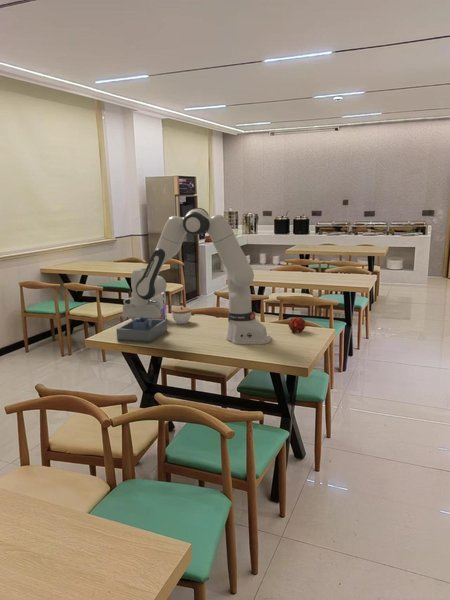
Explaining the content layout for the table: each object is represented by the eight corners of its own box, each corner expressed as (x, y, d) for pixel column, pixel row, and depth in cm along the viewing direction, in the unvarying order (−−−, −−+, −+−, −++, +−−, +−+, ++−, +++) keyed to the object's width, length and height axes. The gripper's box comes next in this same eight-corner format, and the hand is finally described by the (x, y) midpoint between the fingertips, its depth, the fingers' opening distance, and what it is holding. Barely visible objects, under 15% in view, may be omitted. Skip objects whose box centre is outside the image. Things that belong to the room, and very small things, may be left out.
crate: (167, 330, 253) (166, 319, 252) (149, 342, 232) (149, 331, 231) (136, 328, 258) (136, 317, 257) (117, 340, 237) (116, 328, 236)
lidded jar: (171, 320, 273) (171, 305, 271) (190, 319, 274) (189, 304, 272) (173, 325, 262) (172, 309, 260) (192, 324, 264) (191, 308, 262)
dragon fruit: (301, 331, 253) (295, 340, 243) (288, 321, 254) (282, 330, 244) (310, 320, 249) (304, 329, 238) (297, 310, 250) (291, 319, 239)
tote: (152, 328, 248) (151, 317, 247) (143, 334, 239) (143, 322, 238) (141, 328, 250) (141, 317, 249) (133, 333, 241) (132, 322, 239)
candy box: (167, 318, 277) (165, 291, 274) (164, 321, 272) (163, 293, 268) (144, 318, 279) (142, 291, 275) (141, 321, 273) (140, 293, 269)
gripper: (162, 299, 241) (163, 325, 244) (126, 297, 247) (127, 323, 250) (157, 302, 235) (158, 328, 238) (120, 300, 241) (122, 326, 244)
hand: (142, 326), depth 244 cm, fingers open, 6 cm apart
